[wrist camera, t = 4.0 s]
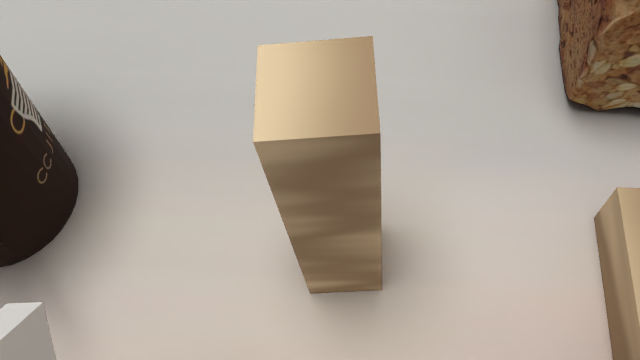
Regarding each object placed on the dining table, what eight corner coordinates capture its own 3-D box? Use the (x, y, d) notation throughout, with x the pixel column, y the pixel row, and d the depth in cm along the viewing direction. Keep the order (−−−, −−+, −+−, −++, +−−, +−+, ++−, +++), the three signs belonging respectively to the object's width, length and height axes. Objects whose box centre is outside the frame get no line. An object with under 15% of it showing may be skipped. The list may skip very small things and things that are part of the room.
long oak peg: (310, 293, 22) (252, 141, 12) (309, 227, 23) (257, 45, 14) (381, 289, 22) (379, 133, 12) (377, 223, 23) (372, 35, 14)
